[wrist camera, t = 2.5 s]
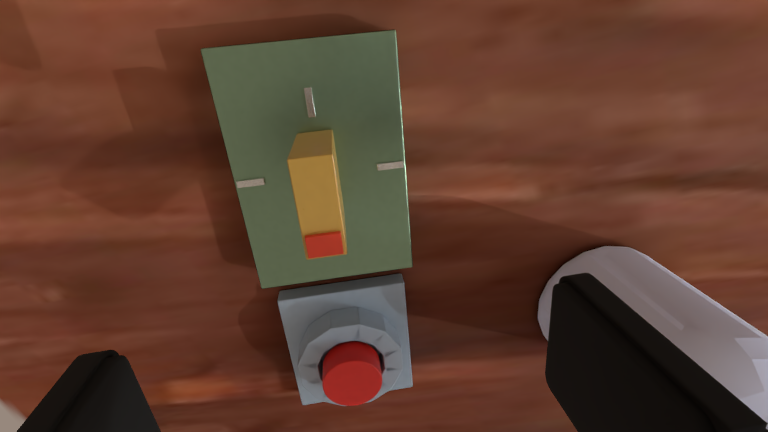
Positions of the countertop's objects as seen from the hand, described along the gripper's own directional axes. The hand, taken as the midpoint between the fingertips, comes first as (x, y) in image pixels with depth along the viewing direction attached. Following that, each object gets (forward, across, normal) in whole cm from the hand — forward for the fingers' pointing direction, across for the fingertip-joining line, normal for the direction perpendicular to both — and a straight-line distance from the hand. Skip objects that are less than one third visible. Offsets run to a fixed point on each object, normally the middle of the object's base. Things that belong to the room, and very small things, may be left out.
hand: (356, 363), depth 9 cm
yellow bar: (+13, +1, 0) cm, 13 cm away
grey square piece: (+16, +1, +12) cm, 20 cm away
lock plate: (+15, +1, 0) cm, 15 cm away
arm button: (+13, +1, +12) cm, 18 cm away
